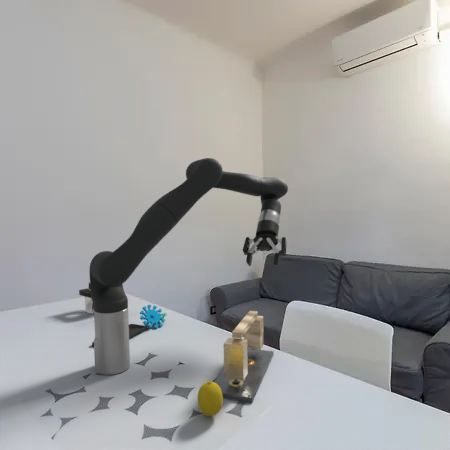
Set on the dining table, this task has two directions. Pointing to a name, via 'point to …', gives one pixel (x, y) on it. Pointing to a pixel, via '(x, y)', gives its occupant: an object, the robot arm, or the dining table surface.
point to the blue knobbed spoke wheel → (152, 316)
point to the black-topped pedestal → (87, 299)
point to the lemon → (210, 398)
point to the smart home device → (134, 330)
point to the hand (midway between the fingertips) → (261, 265)
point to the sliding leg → (250, 330)
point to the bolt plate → (249, 378)
